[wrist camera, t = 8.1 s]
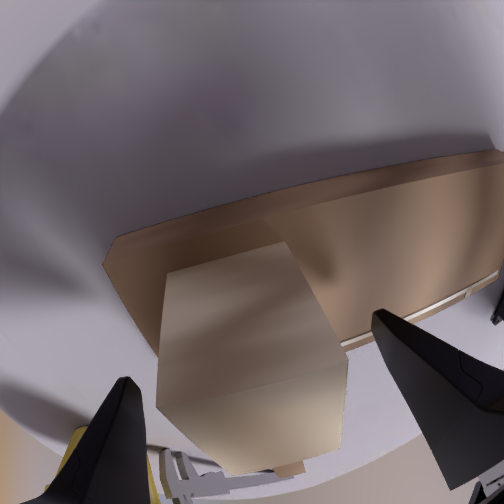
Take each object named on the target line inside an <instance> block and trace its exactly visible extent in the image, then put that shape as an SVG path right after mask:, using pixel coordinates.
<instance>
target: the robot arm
mask: <svg viewBox="0 0 504 504" xmlns="http://www.w3.org/2000/svg"><path fill="white" fill-rule="evenodd" d="M502 320H503V321H504V294H503V297H502V299H501V302H500V304H499V307H498V309H497V312H496V314H495V316H494V319H493V321H492V323H493V324H494V325H497V324H498V323H499V322H501V321H502ZM371 331H372V334H373V336H374V338H375V341H376V343H377V345H378V347H379V350H380V352H381V355H382V357H383V359H384V362H385V364H386V366H387V368H388V370H389V372H390V373H391V375H392V377H393V379H394V381H395V382H396V384H397V386H398V388H399V390H400V391H401V393H402V395H403V397H404V399H405V400H406V402H407V404H408V406H409V408H410V410H411V412H412V414H413V415H414V417H415V419H416V421H417V423H418V425H419V427H420V429H421V431H422V433H423V435H424V437H425V439H426V441H427V443H428V445H429V447H430V449H431V450H432V453H433V455H434V457H435V459H436V461H437V463H438V466H439V468H440V470H441V472H442V474H443V476H444V478H445V481H446V483H447V485H448V487H449V489H450V491H451V490H453V489H455V488H457V487H459V486H461V485H463V484H465V483H467V482H468V481H470V480H472V479H474V478H476V477H477V476H478V478H479V480H480V481H478V482H477V483H476V485H475V488H474V491H473V493H472V496H471V499H470V501H469V504H504V371H503V370H500V369H498V368H495V367H493V366H491V365H488V364H486V363H484V362H482V361H479V360H477V359H475V358H473V357H472V356H470V355H468V354H466V353H464V352H462V351H461V350H459V351H458V349H457V348H455V347H453V346H451V345H450V344H448V343H446V342H444V341H442V340H441V339H439V338H437V337H435V336H433V335H432V334H430V333H428V332H426V331H424V330H423V329H421V328H419V327H417V326H415V325H413V324H412V323H410V322H408V321H406V320H404V319H402V318H401V317H399V316H397V315H395V314H393V313H391V312H390V311H388V310H386V309H383V308H381V309H378V310H376V311H374V312H373V313H372V321H371ZM20 504H151V501H150V491H149V480H148V466H147V449H146V427H145V419H144V411H143V403H142V394H141V390H140V388H139V387H138V386H137V385H136V383H135V382H134V381H133V380H132V379H131V378H130V377H128V376H126V377H120V378H119V379H118V380H117V381H116V383H115V384H114V386H113V387H112V389H111V391H110V392H109V394H108V395H107V397H106V398H105V400H104V401H103V403H102V405H101V406H100V408H99V409H98V411H97V413H96V414H95V416H94V417H93V419H92V421H91V422H90V424H89V425H88V427H87V429H86V430H85V432H84V434H83V435H82V437H81V439H80V440H79V442H78V444H77V445H76V448H74V450H73V452H72V453H71V455H70V457H69V458H68V460H67V461H66V463H65V465H64V466H63V467H62V469H61V470H60V472H59V473H58V475H57V476H56V477H55V479H54V480H53V481H52V483H51V484H50V486H49V487H48V488H47V490H46V491H45V492H44V493H43V494H42V495H41V496H39V497H37V498H35V499H32V500H29V501H27V502H24V503H20Z"/></svg>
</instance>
